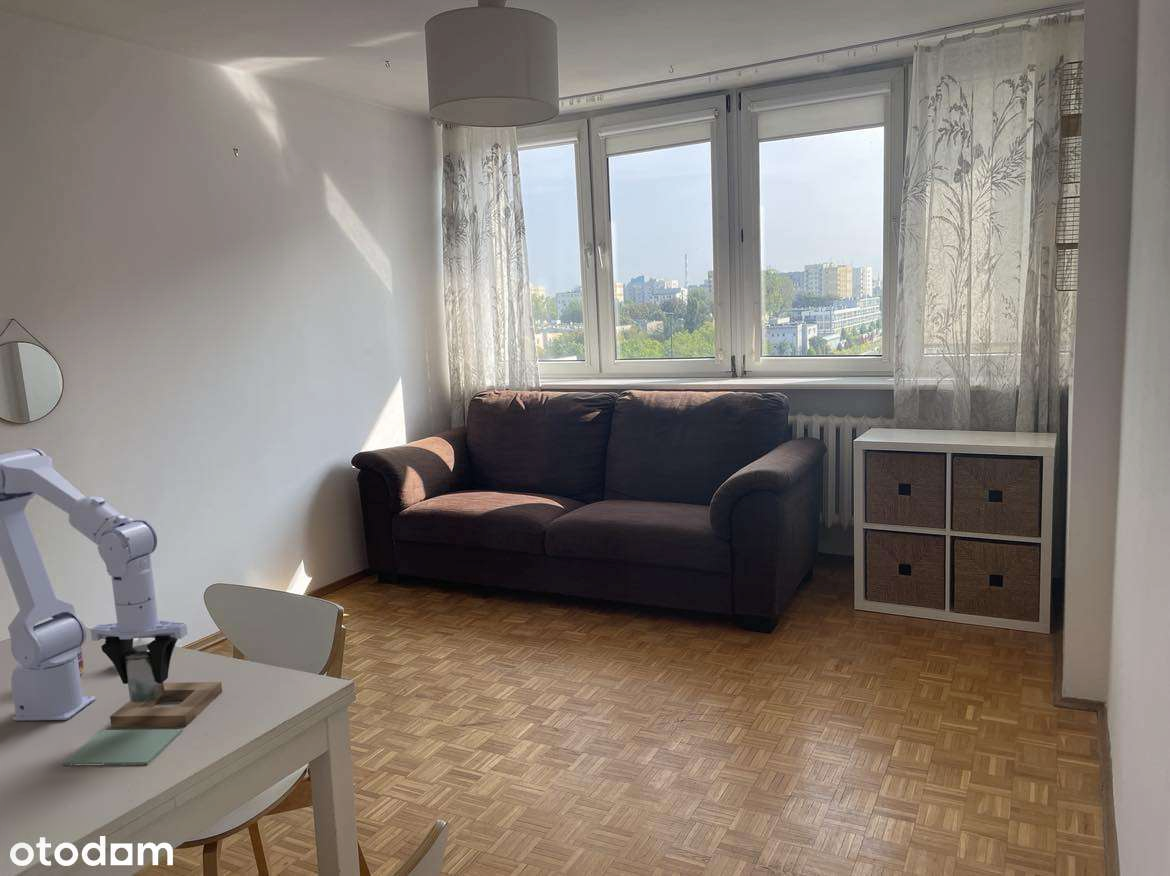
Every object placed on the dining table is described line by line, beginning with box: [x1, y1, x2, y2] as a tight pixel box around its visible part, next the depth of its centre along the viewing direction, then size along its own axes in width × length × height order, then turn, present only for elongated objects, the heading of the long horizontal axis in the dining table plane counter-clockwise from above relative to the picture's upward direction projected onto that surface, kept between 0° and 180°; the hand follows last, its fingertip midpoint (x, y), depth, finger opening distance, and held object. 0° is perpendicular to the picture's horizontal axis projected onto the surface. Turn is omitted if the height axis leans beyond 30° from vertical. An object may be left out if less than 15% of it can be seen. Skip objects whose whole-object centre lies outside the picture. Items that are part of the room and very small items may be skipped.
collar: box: [109, 681, 223, 728], centre depth 147 cm, size 12×12×2 cm
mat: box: [61, 728, 183, 766], centre depth 135 cm, size 13×10×1 cm
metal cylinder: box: [124, 644, 165, 702], centre depth 141 cm, size 5×5×8 cm
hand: (145, 681), depth 141 cm, fingers closed on metal cylinder, 5 cm apart
